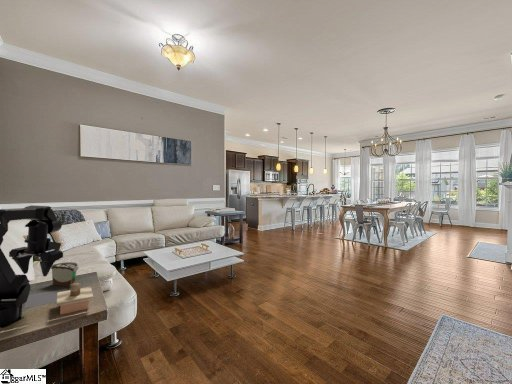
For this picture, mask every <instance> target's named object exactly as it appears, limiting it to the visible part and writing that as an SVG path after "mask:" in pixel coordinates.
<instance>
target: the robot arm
mask: <svg viewBox="0 0 512 384" xmlns="http://www.w3.org/2000/svg"><path fill="white" fill-rule="evenodd" d="M18 220H19V221H21V220H29V221H28V222H26V224H24V227H25V228H28V230H27V231H28V232H27V239H24V243H27V245H26V246H20V247H16V248H12V249H11V250H9V252H8V257H9V258H11V260H13V261H14V263H15V264H16V265H17V266H18V268H19V269H20V271H21V272H22V274H16V272H15V271H14V268H13V267H12V266H11V264H10V262H9V260H8V258H7V257H6V255H5V254H4V252H3V250H2V248H1V246H2V243H3V241H4V236H5V235H7V232H8V230H9V224H10V221H18ZM62 226H63V224H62V222H61V221H60V220H59V219H58V217H57V216H56V215H55V212H54V210H53V209H52V207H51V206H49V205H34V204H33V205H27V206H25V207H24V208H8V209H7V208H6V209H4V208H0V329H4V328H7V327H9V326H11V325H12V324H15V323H17V322H19V321H21V320H23V319H25V317H24V316H22V314H23V305H25V303H26V302H27V299H28V296H29V295H30V292H31V288H32V287H31V284H30V283H31V280H30V279H28V276H27V275H26V274H28V272H29V268H30V261H31V259H32V257H39V259H40V261H39V265H40V270H41V274H42V276H43V277H47V276H48V275H49V273H50V271H51V270H52V269H51V267H52V265H54V263H56V262H57V261H59V260H60V259H62V258H64V252H63V251H61V250H60V248H61V246H62V242H57V241H52V239H51V238H50V237H48V235H50V234H53V233H56V232H58V231H60V230H61V229H62Z"/></svg>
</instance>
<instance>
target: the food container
mask: <svg viewBox="0 0 512 384" xmlns="http://www.w3.org/2000/svg"><path fill="white" fill-rule="evenodd" d="M79 269H80V268H79V264H78V263H77V262H74V261H73V262H69V261H68V262H66V261H65V262H58V263H55V264H54V263H53V265H52V267H51V269H50V270H51V276H52V278H51V279H52V281H51V284H52V285H54V286H61V287H62V286H63V287H69V288H71V285H72V284H74V283H76V277H77V271H78V270H79Z"/></svg>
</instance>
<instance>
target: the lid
mask: <svg viewBox="0 0 512 384" xmlns="http://www.w3.org/2000/svg"><path fill="white" fill-rule="evenodd" d="M81 285H82V283H81V282H75V283H74V284H72V285H71V287H70V289H69V290H68V289H67V291H62V292H57V302H56V307H60V306H62V305H67V304H71V303H76V302H81V301H86V300H89V301H90V300H94V295H93V290H92V286H87V287H81Z"/></svg>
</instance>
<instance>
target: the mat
mask: <svg viewBox="0 0 512 384" xmlns="http://www.w3.org/2000/svg"><path fill="white" fill-rule="evenodd" d="M62 291H68V288H61V289H55V290H50V291H44V292H38V293H32V294H29V296H28V299H27V302H25V303H24V306H23V309H29V308H33V307H39V306H44V305H47V304H48V305H49V304H53V303H57V292H62Z"/></svg>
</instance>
